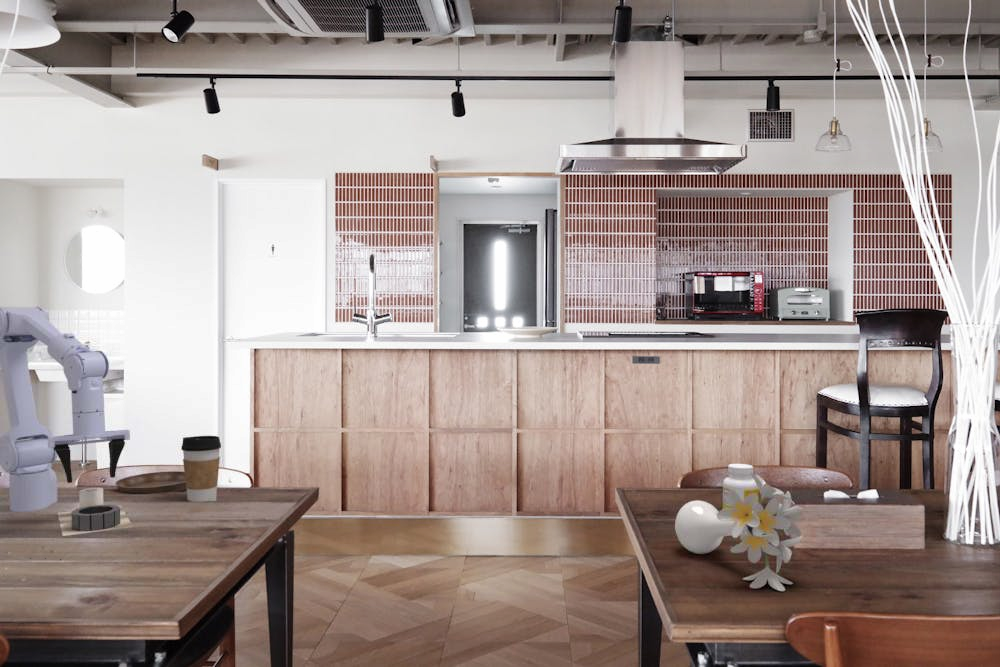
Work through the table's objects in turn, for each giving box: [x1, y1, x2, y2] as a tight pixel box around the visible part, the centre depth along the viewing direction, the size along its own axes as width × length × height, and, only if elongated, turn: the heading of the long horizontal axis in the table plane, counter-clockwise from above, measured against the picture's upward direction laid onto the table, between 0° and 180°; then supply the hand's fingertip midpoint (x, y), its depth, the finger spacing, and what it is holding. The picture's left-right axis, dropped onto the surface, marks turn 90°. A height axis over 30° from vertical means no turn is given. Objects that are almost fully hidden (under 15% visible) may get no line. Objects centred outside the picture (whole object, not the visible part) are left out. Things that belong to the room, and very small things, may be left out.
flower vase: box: [674, 472, 804, 592], centre depth 132 cm, size 13×18×25 cm
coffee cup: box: [180, 435, 222, 503], centre depth 176 cm, size 8×8×15 cm
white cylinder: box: [78, 487, 104, 508], centre depth 163 cm, size 4×4×5 cm
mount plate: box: [57, 505, 133, 537], centre depth 159 cm, size 20×12×1 cm, turn 32°
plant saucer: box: [115, 470, 187, 494], centre depth 190 cm, size 18×18×3 cm
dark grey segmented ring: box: [71, 504, 120, 531], centre depth 154 cm, size 8×8×3 cm
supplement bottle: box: [722, 463, 759, 511], centre depth 153 cm, size 7×7×13 cm
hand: (91, 479), depth 158 cm, fingers open, 7 cm apart
